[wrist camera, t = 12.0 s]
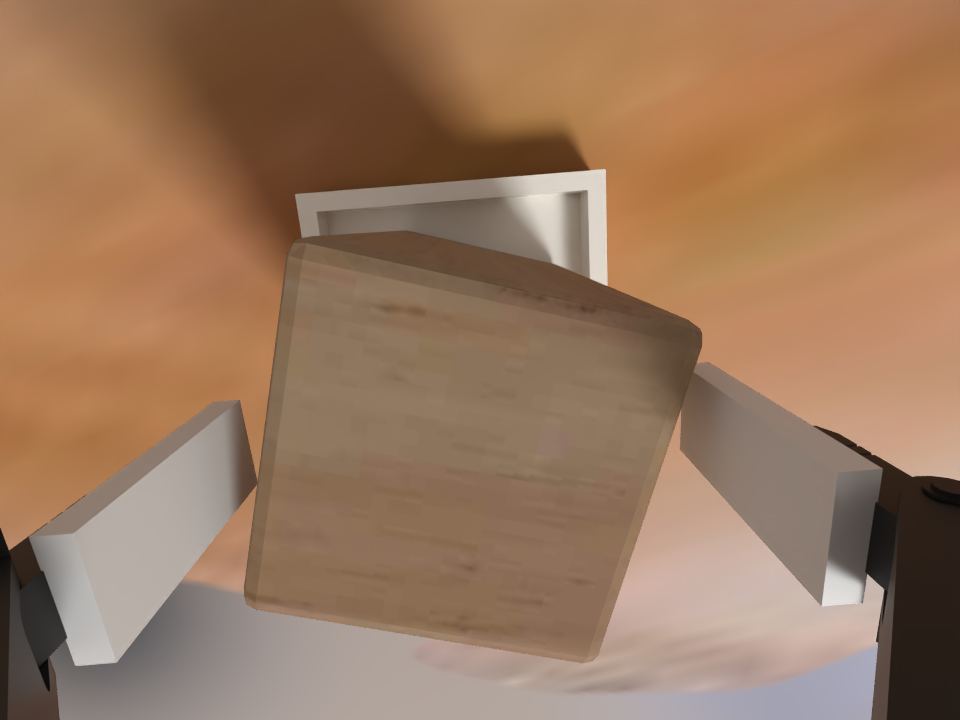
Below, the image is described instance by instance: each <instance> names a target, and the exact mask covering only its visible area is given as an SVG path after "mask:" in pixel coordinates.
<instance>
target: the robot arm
mask: <svg viewBox="0 0 960 720" xmlns="http://www.w3.org/2000/svg"><path fill="white" fill-rule="evenodd" d="M680 450H681V451H682V452H683V453H684V454H685V456H686V457H687V458H688V459H689V460H690V461H691V462H692V463H693V464H694V465H695V467H696V468H697V469H698V470H699V471H700V472H701V473H702V474H703V475H704V477H705V478H706V479H707V480H708V481H709V482H710V483H711V484H712V485H713V487H714V488H715V489H716V490H717V491H718V492H719V493H720V494H721V495H722V496H723V498H724V499H725V500H726V501H727V502H728V503H729V504H730V505H731V506H732V508H733V509H734V510H735V511H736V512H737V513H738V514H739V515H740V516H741V518H742V519H743V520H744V521H745V522H746V523H747V524H748V525H749V526H750V527H751V529H752V530H753V531H754V532H755V533H756V534H757V535H758V536H759V537H760V539H761V540H762V541H763V542H764V543H765V544H766V545H767V546H768V547H769V549H770V550H771V551H772V552H773V553H774V554H775V555H776V556H777V557H778V558H779V560H780V561H781V562H782V563H783V564H784V565H785V566H786V567H787V568H788V570H789V571H790V572H791V573H792V574H793V575H794V576H795V577H796V578H797V580H798V581H799V582H800V583H801V584H802V585H803V586H804V587H805V588H806V589H807V591H808V592H809V593H810V594H811V595H812V596H813V597H814V598H815V599H816V601H817V602H818V603H819V604H820V605H821V606H831V605H843V604H856V603H863V598H864V592H865V585H866V578H867V574H868V575H869V576H870V577H871V578H872V579H874V580H875V581H876V582H877V583H878V584H879V585H880V586H881V587H883V588H884V595H883V601H882V607H881V614H880V620H879V626H878V632H877V638H876V642H878V652H877V664H876V674H875V685H874V697H873V707H872V718H871V720H960V481H958V480H954V479H950V478H942V477H935V476H915V477H911V476H910V475H908V474H906V473H905V472H903V471H901V470H899V469H898V468H896V467H894V466H893V465H891V464H889V463H888V462H886V461H884V460H882V459H881V458H879V457H877V456H876V455H871V452H869V451H867V450H865V449H864V448H862V447H860V446H857V444H855V443H854V442H852V441H850V440H849V439H847V438H845V437H843V436H842V435H840V434H838V433H835V432H832V431H829V430H826V429H823V428H821V427H818V426H812V425H810V424H809V423H807V422H806V421H804V420H802V419H801V418H799V417H797V416H796V415H794V414H792V413H791V412H789V411H788V410H786V409H784V408H783V407H781V406H779V405H778V404H776V403H774V402H773V401H771V400H770V399H768V398H766V397H765V396H763V395H761V394H760V393H758V392H756V391H755V390H753V389H752V388H750V387H748V386H747V385H745V384H743V383H742V382H740V381H738V380H737V379H735V378H734V377H732V376H730V375H729V374H727V373H725V372H724V371H722V370H720V369H719V368H717V367H716V366H714V365H712V364H711V363H709V362H706V363H696V366H695V368H694V371H693V374H692V377H691V380H690V383H689V386H688V389H687V392H686V395H685V398H684V401H683V404H682V407H681V437H680ZM257 483H258V482H257V478H256V473H255V469H254V464H253V459H252V455H251V450H250V446H249V441H248V436H247V432H246V427H245V422H244V418H243V413H242V409H241V404H240V400H233V401H220V402H213V403H212V404H210V405H209V406H208V407H206V408H205V409H204V410H202V411H201V412H199V413H198V414H197V415H195V416H194V417H193V418H191V419H190V420H188V421H187V422H186V423H184V424H183V425H182V426H180V427H179V428H178V429H176V430H175V431H173V432H172V433H171V434H169V435H168V436H167V437H165V438H164V439H162V440H161V441H160V442H158V443H157V444H156V445H154V446H153V447H151V448H150V449H149V450H147V451H146V452H145V453H143V454H142V455H141V456H139V457H138V458H136V459H135V460H134V461H132V462H131V463H130V464H128V465H127V466H125V467H124V468H123V469H121V470H120V471H119V472H117V473H116V474H115V475H113V476H112V477H110V478H109V479H108V480H106V481H105V482H104V483H102V484H101V485H99V486H98V487H97V488H95V489H94V490H93V491H91V492H90V493H89V494H87V495H85V496H83V497H82V498H81V499H79V500H78V501H77V502H75V503H74V504H72V505H71V506H70V507H68V508H67V509H66V510H65V511H64V512H62V513H60V514H59V515H57V516H56V517H55V518H53V519H52V520H51V521H50V522H49V523H46V524H45V525H44V526H42V527H41V528H40V529H38V530H37V531H35V532H34V533H33V534H31V535H30V536H29V537H27V538H26V539H24V540H23V541H22V542H20V543H19V544H18V545H16V546H15V547H13V548H12V549H11V550H8V547H7V544H6V542H5V539H4V536H3V534H2V531H1V528H0V720H60V719H59V709H58V697H57V686H56V675H55V671H54V668H53V666H52V663H51V661H50V658H49V656H50V655H51V654H52V653H53V652H54V651H55V650H56V649H57V648H58V647H59V646H60V645H61V644H62V643H63V642H64V641H65V640H66V641H67V644H68V647H69V650H70V652H71V655H72V658H73V661H74V663H75V666H79V665H92V664H105V663H116V662H117V661H118V660H119V659H120V657H121V656H122V655H123V654H124V652H125V651H126V650H127V649H128V647H129V646H130V645H131V643H132V642H133V641H134V640H135V638H136V637H137V636H138V635H139V633H140V632H141V631H142V630H143V628H144V627H145V626H146V624H147V623H148V622H149V621H150V619H151V618H152V617H153V616H154V614H155V613H156V612H157V611H158V609H159V608H160V607H161V606H162V604H163V603H164V602H165V600H166V599H167V598H168V596H169V595H170V594H171V593H172V592H173V590H174V589H175V588H176V586H177V585H178V584H179V583H180V581H181V580H182V579H183V578H184V576H185V575H186V574H187V573H188V571H189V570H190V569H191V567H192V566H193V565H194V564H195V562H196V561H197V560H198V559H199V557H200V556H201V555H202V554H203V552H204V551H205V550H206V548H207V547H208V546H209V545H210V543H211V542H212V541H213V540H214V538H215V537H216V536H217V534H218V533H219V532H220V531H221V529H222V528H223V527H224V526H225V524H226V523H227V522H228V521H229V519H230V518H231V517H232V515H233V514H234V513H235V512H236V510H237V509H238V508H239V507H240V505H241V504H242V503H243V502H244V500H245V499H246V498H247V496H248V495H249V494H250V493H251V491H252V490H253V489H254V488H255V486H256V485H257Z"/></svg>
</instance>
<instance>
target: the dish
mask: <svg viewBox="0 0 960 720" xmlns="http://www.w3.org/2000/svg"><path fill="white" fill-rule="evenodd" d="M295 198H296V204H297V210H298V216H299V223H300V229H301V235H302V238H305V237H310V236H323V235H339V234H355V233H371V232H387V231H404V230H407V231H412V232H416V233H420V234H425V235H429V236H434V237H438V238H442V239H447V240H451V241H456V242H460V243H464V244H469V245H473V246H478V247H482V248H486V249H491V250H495V251H500V252H504V253H508V254H513V255H517V256H522V257H526V258H530V259H535V260H539V261H544V262H548V263H552V264H556V265H558V266H561V267H563V268H566V269H568V270H570V271H573V272H575V273H577V274H580V275H582V276H585V277H587V278H589V279H592V280H594V281H597V282H599V283H601V284H604V285H606V286H607V230H606V169H602V170H590V171H577V172H565V173H552V174H540V175H527V176H515V177H502V178H490V179H478V180H465V181H453V182H440V183H428V184H415V185H403V186H390V187H378V188H365V189H353V190H340V191H328V192H315V193H303V194H295Z"/></svg>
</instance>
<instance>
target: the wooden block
mask: <svg viewBox="0 0 960 720" xmlns="http://www.w3.org/2000/svg"><path fill="white" fill-rule="evenodd" d="M701 348H702V332H701V330H700V328H698V327H697V326H696V325H694V324H693V323H692V322H690V321H689V320H687V319H685V318H682V317H680V316H677V315H675V314H673V313H670V312H668V311H666V310H663V309H661V308H658V307H656V306H654V305H651V304H649V303H647V302H644V301H642V300H639V299H637V298H635V297H632V296H630V295H627V294H625V293H623V292H620V291H618V290H616V289H613V288H611V287H608V286H606V285H604V284H601V283H599V282H597V281H594V280H592V279H589V278H587V277H585V276H582V275H580V274H577V273H575V272H573V271H570V270H568V269H566V268H563V267H561V266H558V265H556V264H552V263H548V262H544V261H539V260H535V259H530V258H526V257H522V256H517V255H513V254H508V253H504V252H500V251H495V250H491V249H486V248H482V247H478V246H473V245H469V244H464V243H460V242H456V241H451V240H447V239H442V238H438V237H434V236H429V235H425V234H420V233H416V232H412V231H407V230H404V231H387V232H371V233H355V234H339V235H323V236H310V237H305V238H299V239H295V241H294V242H293V244H292V246H291V247H290V249H289V251H288V252H287V257H286V265H285V273H284V281H283V288H282V296H281V304H280V312H279V319H278V327H277V335H276V343H275V351H274V358H273V366H272V374H271V382H270V390H269V397H268V405H267V413H266V421H265V429H264V436H263V444H262V452H261V460H260V468H259V475H258V483H257V491H256V499H255V507H254V514H253V522H252V530H251V538H250V545H249V553H248V561H247V569H246V577H245V584H244V597H245V600H246V604H247V605H249V606H251V607H253V608H254V609H256V610H261V611H268V612H273V613H279V614H285V615H292V616H298V617H304V618H310V619H316V620H322V621H328V622H334V623H340V624H346V625H353V626H359V627H365V628H371V629H378V630H383V631H389V632H395V633H402V634H408V635H413V636H420V637H426V638H432V639H438V640H444V641H450V642H456V643H462V644H468V645H474V646H481V647H487V648H493V649H499V650H505V651H511V652H517V653H523V654H529V655H535V656H542V657H548V658H554V659H560V660H566V661H572V662H578V663H586V662H590V661H593V660H594V659H595V658H596V657H597V656H598V654H599V651H600V648H601V645H602V642H603V639H604V636H605V633H606V630H607V627H608V624H609V621H610V618H611V615H612V612H613V609H614V606H615V603H616V600H617V597H618V594H619V591H620V588H621V585H622V582H623V579H624V576H625V573H626V570H627V567H628V564H629V561H630V559H631V556H632V553H633V550H634V547H635V544H636V541H637V538H638V535H639V532H640V529H641V526H642V523H643V520H644V517H645V514H646V511H647V508H648V505H649V502H650V499H651V496H652V493H653V490H654V487H655V484H656V481H657V478H658V475H659V472H660V469H661V466H662V463H663V461H664V458H665V455H666V452H667V449H668V446H669V443H670V440H671V437H672V434H673V431H674V428H675V425H676V422H677V419H678V416H679V413H680V410H681V407H682V404H683V401H684V398H685V395H686V392H687V389H688V386H689V383H690V380H691V377H692V374H693V371H694V368H695V366H696V363H697V360H698V357H699V354H700V351H701Z"/></svg>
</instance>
